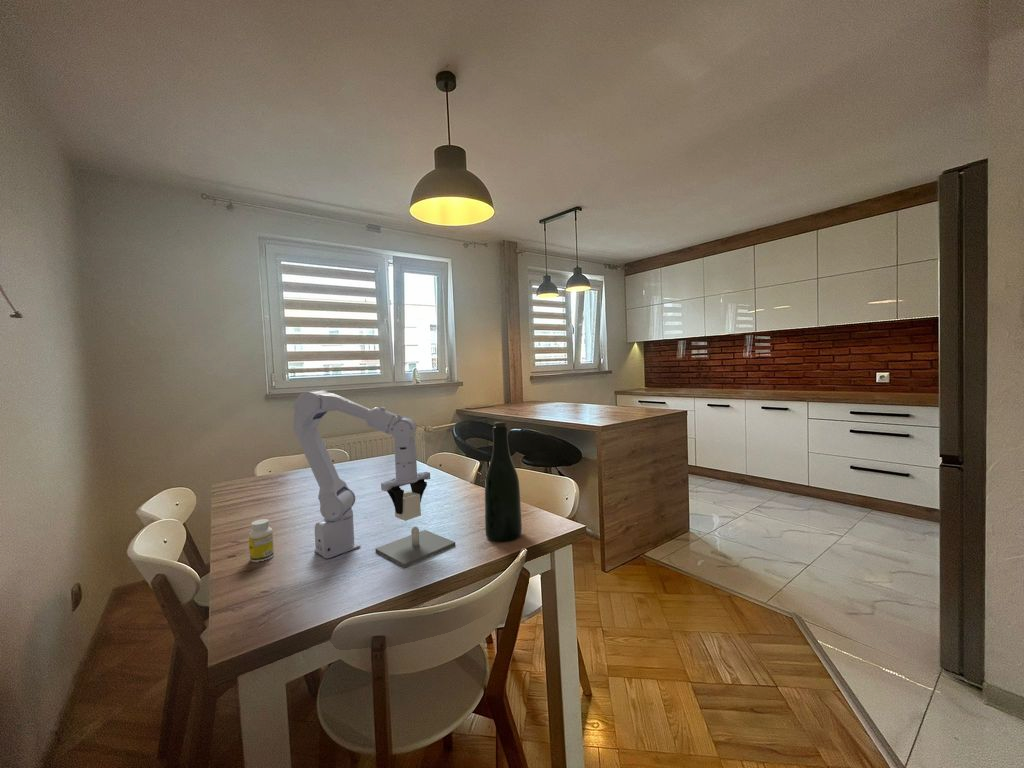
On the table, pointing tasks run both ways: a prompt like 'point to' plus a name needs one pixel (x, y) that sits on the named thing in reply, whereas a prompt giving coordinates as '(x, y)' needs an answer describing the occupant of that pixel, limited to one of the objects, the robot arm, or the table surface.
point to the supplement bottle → (261, 541)
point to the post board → (414, 547)
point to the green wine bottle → (502, 491)
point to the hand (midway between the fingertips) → (408, 510)
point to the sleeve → (410, 506)
